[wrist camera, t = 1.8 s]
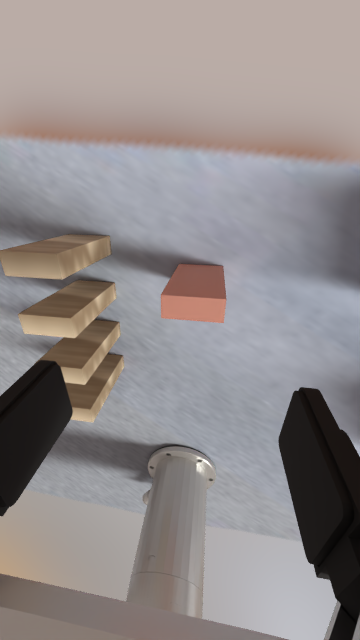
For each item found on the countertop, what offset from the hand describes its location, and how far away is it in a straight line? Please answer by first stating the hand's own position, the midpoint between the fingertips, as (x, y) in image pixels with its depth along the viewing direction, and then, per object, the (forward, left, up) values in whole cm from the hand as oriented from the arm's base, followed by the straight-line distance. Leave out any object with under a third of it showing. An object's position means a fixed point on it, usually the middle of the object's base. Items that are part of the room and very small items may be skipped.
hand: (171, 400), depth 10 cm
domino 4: (-19, +3, -20) cm, 28 cm away
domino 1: (-6, +12, -20) cm, 24 cm away
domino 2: (-10, +9, -20) cm, 24 cm away
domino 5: (0, 0, -20) cm, 20 cm away
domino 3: (-15, +6, -20) cm, 25 cm away
